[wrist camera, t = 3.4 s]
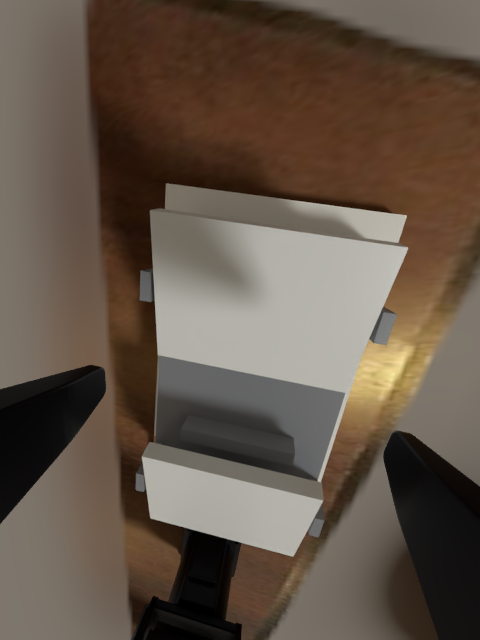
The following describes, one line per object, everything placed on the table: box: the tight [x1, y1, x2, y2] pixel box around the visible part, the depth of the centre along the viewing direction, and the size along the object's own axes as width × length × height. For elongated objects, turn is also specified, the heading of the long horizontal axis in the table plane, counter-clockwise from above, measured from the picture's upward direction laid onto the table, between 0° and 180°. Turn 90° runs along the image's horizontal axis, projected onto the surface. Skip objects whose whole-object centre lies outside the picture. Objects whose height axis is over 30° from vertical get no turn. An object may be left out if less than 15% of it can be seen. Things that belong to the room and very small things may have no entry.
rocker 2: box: [142, 442, 323, 556], centre depth 17 cm, size 8×11×2 cm
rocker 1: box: [150, 209, 408, 393], centre depth 13 cm, size 8×11×2 cm
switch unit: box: [136, 183, 407, 537], centre depth 18 cm, size 26×16×7 cm, turn 172°
